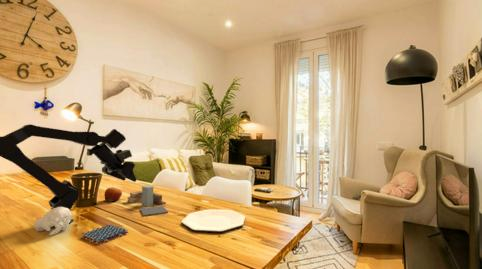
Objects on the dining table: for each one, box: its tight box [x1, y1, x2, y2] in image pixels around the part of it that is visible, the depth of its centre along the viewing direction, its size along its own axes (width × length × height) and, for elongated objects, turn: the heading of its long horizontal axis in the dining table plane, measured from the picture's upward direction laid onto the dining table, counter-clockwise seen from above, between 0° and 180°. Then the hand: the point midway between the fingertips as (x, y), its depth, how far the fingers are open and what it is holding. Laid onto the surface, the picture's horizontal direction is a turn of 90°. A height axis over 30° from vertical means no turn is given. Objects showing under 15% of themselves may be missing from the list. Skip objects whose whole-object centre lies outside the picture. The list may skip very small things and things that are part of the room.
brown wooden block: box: [153, 192, 167, 206], centre depth 119 cm, size 4×12×4 cm, turn 50°
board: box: [141, 185, 154, 208], centre depth 113 cm, size 3×5×9 cm, turn 50°
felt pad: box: [139, 205, 169, 217], centre depth 104 cm, size 10×10×1 cm
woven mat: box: [80, 224, 129, 246], centre depth 77 cm, size 10×11×2 cm
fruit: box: [104, 186, 123, 204], centre depth 120 cm, size 8×8×8 cm
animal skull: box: [33, 207, 73, 237], centre depth 80 cm, size 6×8×12 cm
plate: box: [181, 208, 246, 233], centre depth 92 cm, size 24×24×2 cm
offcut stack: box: [127, 190, 142, 204], centre depth 120 cm, size 7×4×4 cm, turn 140°
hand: (130, 180), depth 107 cm, fingers open, 9 cm apart
